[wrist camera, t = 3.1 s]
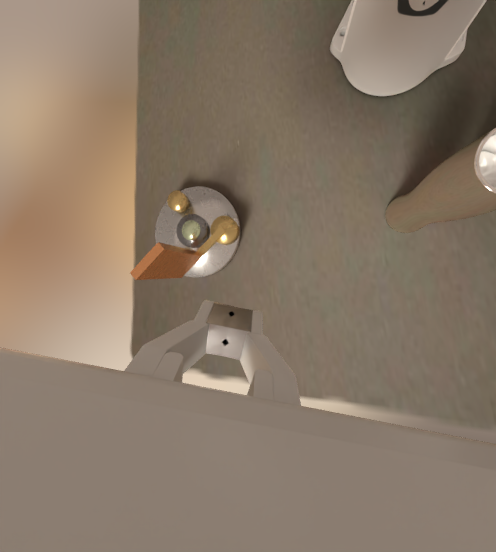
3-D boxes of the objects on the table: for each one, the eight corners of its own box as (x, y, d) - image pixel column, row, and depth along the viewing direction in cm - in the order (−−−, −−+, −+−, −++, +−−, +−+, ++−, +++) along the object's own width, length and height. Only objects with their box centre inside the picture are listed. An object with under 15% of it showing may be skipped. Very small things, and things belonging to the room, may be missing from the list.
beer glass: (431, 235, 29) (580, 197, 14) (381, 236, 30) (470, 203, 16) (432, 190, 29) (584, 105, 14) (382, 193, 30) (473, 119, 16)
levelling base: (172, 181, 38) (162, 173, 35) (252, 200, 35) (248, 193, 31) (151, 263, 39) (140, 262, 36) (226, 288, 36) (220, 289, 33)
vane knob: (227, 212, 34) (195, 179, 22) (245, 231, 33) (222, 208, 21) (176, 265, 36) (121, 262, 24) (192, 284, 35) (144, 290, 23)
